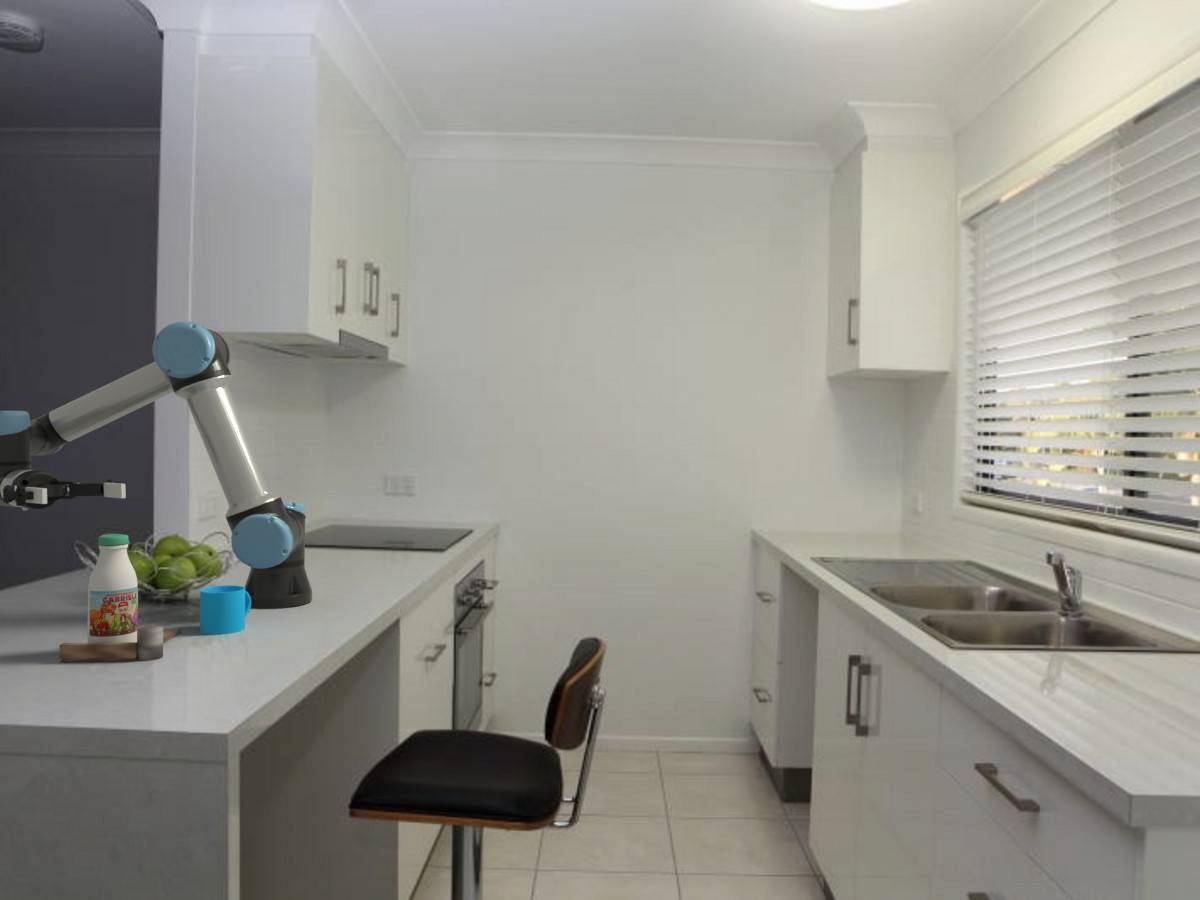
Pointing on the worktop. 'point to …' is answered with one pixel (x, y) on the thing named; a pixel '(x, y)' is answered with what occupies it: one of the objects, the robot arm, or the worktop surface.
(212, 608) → the mug
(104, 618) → the milk bottle
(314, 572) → the worktop surface
